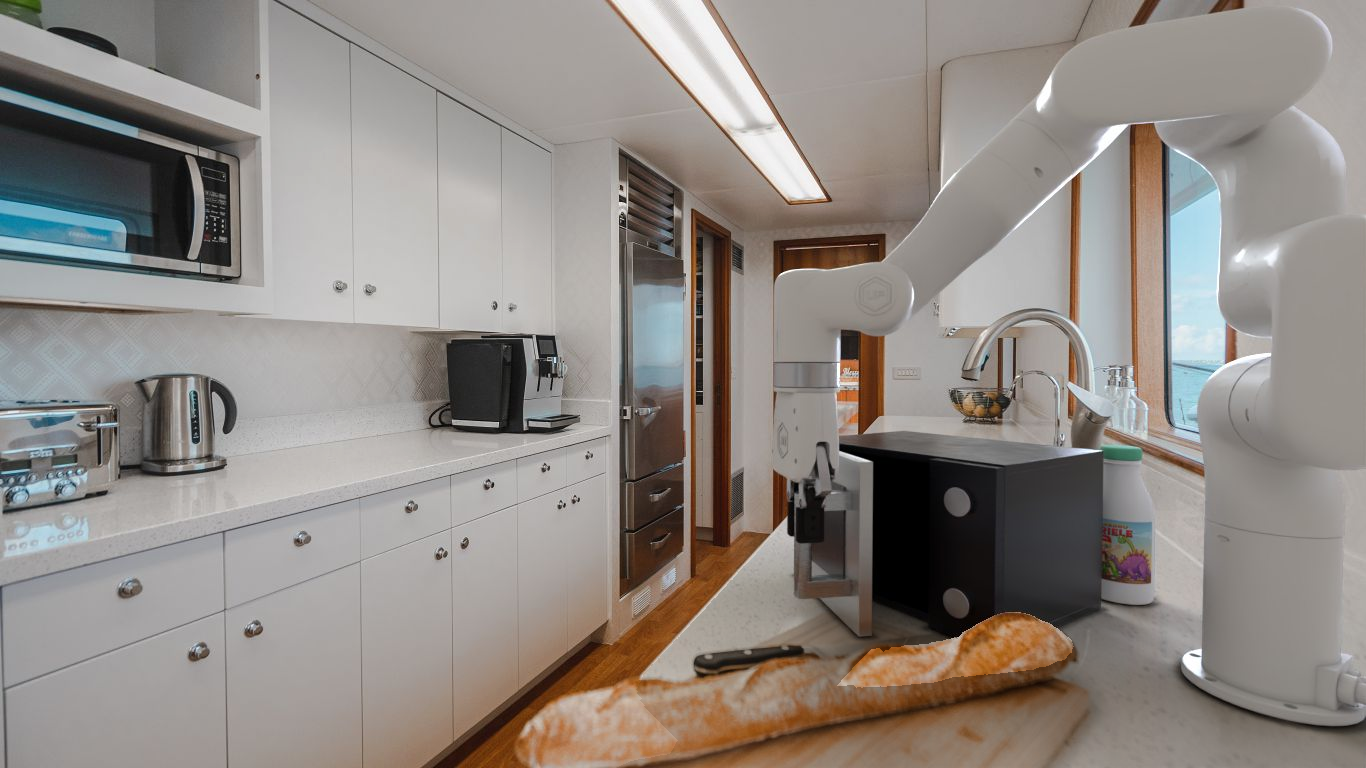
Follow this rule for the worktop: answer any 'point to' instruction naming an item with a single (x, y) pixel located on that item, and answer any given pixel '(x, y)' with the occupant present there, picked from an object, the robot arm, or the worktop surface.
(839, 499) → the microwave door
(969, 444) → the microwave
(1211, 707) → the worktop surface
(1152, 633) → the worktop surface
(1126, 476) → the milk bottle
